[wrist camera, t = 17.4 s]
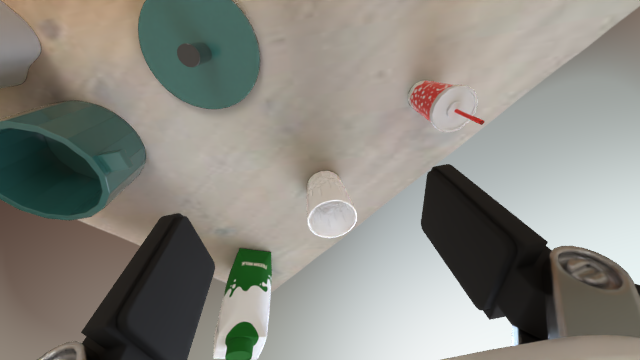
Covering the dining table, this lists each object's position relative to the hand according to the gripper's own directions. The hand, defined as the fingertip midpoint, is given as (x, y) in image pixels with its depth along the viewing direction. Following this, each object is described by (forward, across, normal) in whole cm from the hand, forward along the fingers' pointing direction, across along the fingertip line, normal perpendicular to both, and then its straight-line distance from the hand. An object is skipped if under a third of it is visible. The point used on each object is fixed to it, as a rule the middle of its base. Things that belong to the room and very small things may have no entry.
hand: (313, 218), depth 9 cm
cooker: (+30, +32, +4) cm, 44 cm away
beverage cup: (+31, -20, +5) cm, 37 cm away
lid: (+30, +11, -6) cm, 32 cm away
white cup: (+31, -2, +19) cm, 36 cm away
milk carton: (+31, +17, +36) cm, 50 cm away
